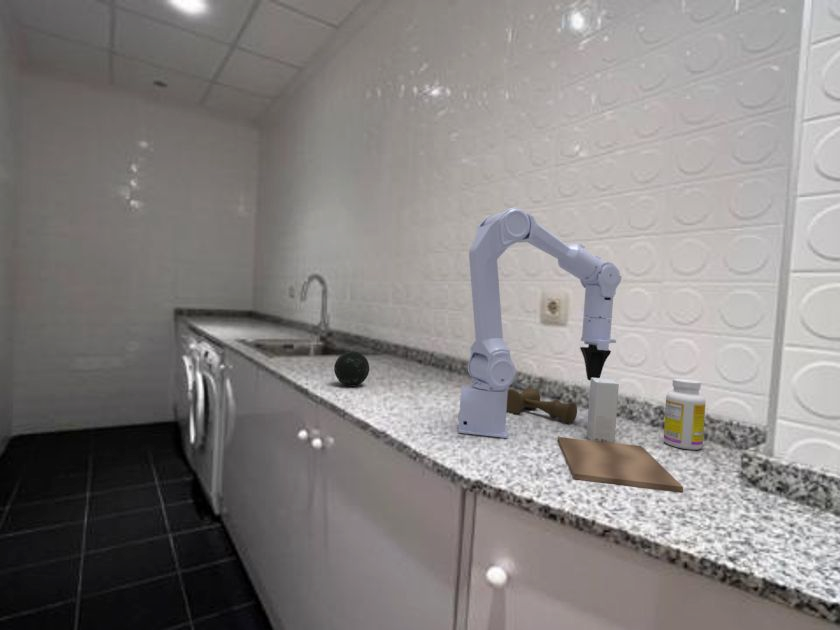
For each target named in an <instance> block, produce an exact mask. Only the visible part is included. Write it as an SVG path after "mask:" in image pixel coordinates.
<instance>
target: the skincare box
mask: <svg viewBox="0 0 840 630" xmlns="http://www.w3.org/2000/svg"><path fill="white" fill-rule="evenodd" d="M589 384H590V385H589V396H588V400H589V401H588V409H587V410H588V411H587V412H588V414H587V423H586V436H587V437H588V440H591V441H601V442H610V443H616V440H615V439H616V430H617V429H616V428H617V415H618V414H617V413H618V400H619V383H618V382H616V381H615V380H613V379H611V378H601V377H600V378H593V377H592V378H591V380H590V383H589Z"/></svg>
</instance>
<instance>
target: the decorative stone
mask: <svg viewBox="0 0 840 630" xmlns="http://www.w3.org/2000/svg"><path fill="white" fill-rule="evenodd" d="M333 367H334V371H333V372H334V375H335V377H336V379H337V380H338V382H339V383H341V384H343V385H345V386H348V385H356V386H359V385H360V384H362V383H363V382H365V381H366V379H367V378H368V376H369V373H370V363H369V360H368V359H367V357H366V356H365V355H364V354H362V353H361V352H359V351H355V350H351V351H350V350H349V351H346V352H343V353H342V354H340V355H339V356H338V358H337V359H336V360H335V363H334V366H333Z"/></svg>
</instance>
